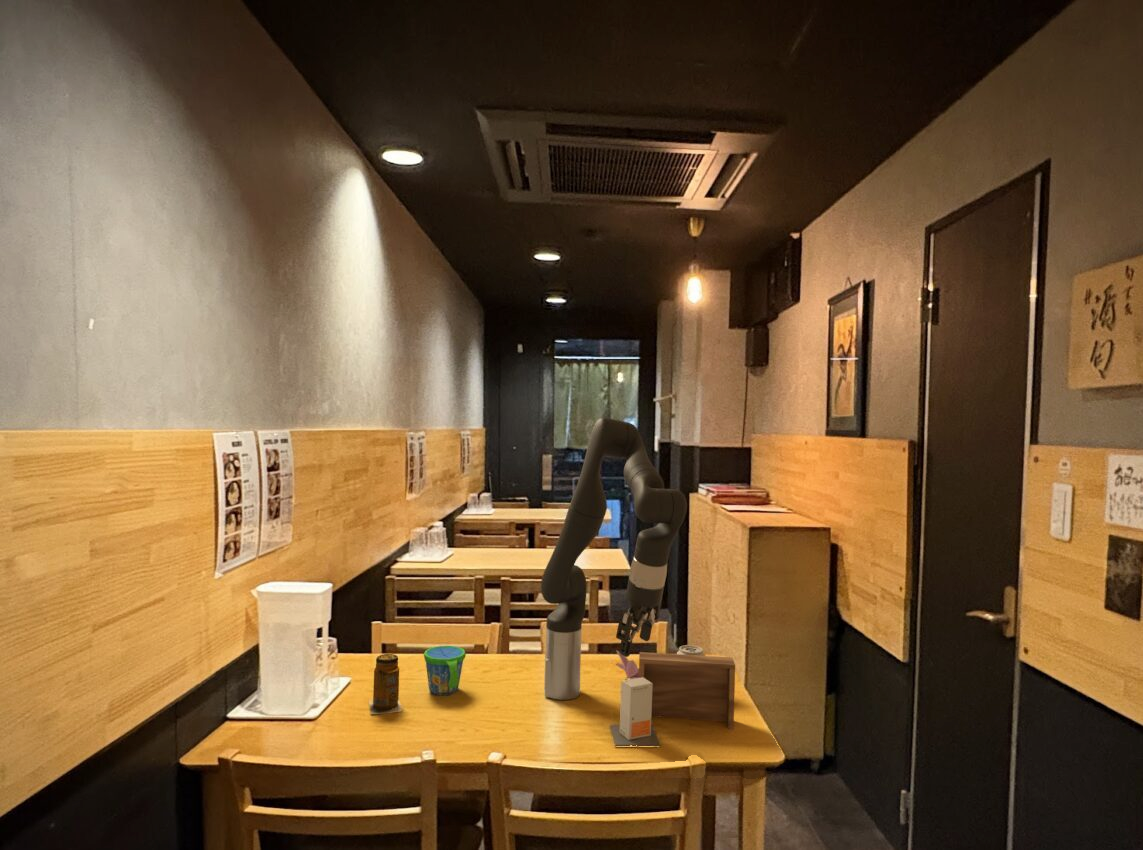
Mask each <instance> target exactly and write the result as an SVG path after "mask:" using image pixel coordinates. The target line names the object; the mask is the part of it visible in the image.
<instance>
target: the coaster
mask: <svg viewBox="0 0 1143 850" xmlns="http://www.w3.org/2000/svg"><path fill="white" fill-rule="evenodd" d="M609 730H611V731H610V733H612V734H611V738H612V737H613V738H612V741H613V740H614V741H613V744H615V745H614V747H615V746H630V745H632V746H636V745H637V746H660V747H661V743H660V741H659V738H658V735H657V733H656V731H655V728H654V726H653V724H652V723H651V735H650V736H646V737H641V738H636V739H631V740H628V739H627V738H626V737H624V736H623V735H622V734H621V733H620V724H609Z"/></svg>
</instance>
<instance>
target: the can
mask: <svg viewBox="0 0 1143 850" xmlns="http://www.w3.org/2000/svg"><path fill="white" fill-rule="evenodd" d="M703 651H704V649H703V648H702V647H700V646H697V645H692V644H685V645H681V646H679V650H678V651H677V652H676V654H680V655H697V656H706V654H705V653H704V652H703Z"/></svg>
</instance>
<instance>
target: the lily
mask: <svg viewBox="0 0 1143 850" xmlns="http://www.w3.org/2000/svg"><path fill="white" fill-rule="evenodd" d="M615 651H616V653H617V655H618V657H619V659H620V661H621V662H622V663H620V662H618V663H615V666H616V667H619V668H620V669H621V670H623V671H624V672H625V675H626V677H625V679H624V681H625V680H630V679H634V678H639V667H638V665H637V663H636V662H635V661H634V660H633V659H631V660H629V658H628V657H625V656H623V655H621V654H620V652H619V651H620V650H615Z"/></svg>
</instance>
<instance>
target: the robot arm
mask: <svg viewBox="0 0 1143 850" xmlns="http://www.w3.org/2000/svg"><path fill="white" fill-rule="evenodd" d="M587 444H588V445H587V448H586V452H585V456H584V461H583V464H582V468H581V472H580V475H579V478H578V481H577V484H576V487H575V490H574V493H573V495H572V498H571V501H570V504H569V507H568V509H567V512H566V514H565V519H564V523H563V525H562V528H561V531H560V534H559V537H558V540H557V542H556V545H555V548H554V550H553V552H552V554H551V557H550V559H549V561H548V562H547V565H546V567H545V568H544V572H543V574H542V577H541V581H540V592H541V596H542V597H543V600H544V601H545V602H547V603H549V604H551V605H555V604H556V605H557V606H556V608H555V609H554V610H553V611H552V612H551V613H549V614H548V615H547V618H546V631H545V655H544V657H545V658H544V688H543V689H544V697H545V698H550V699H553V700H561V701H563V700H564V701H566V700H572V699H575V698H578V697H580V693H581V665H582V664H581V660H582V658H581V657H582V656H581V655H582V624H583V621H584V618H585V614H586V603H587V602H586V601H587V590H588V589H587V585H588V584H587V579H586V575H585V573H584V571H583V569H582V567H580V566H578V565H577V564H576V561H577V560H578V558H579V557H580V556H581V555H582V553H584V551H585V550H586V549H587V548H588V546H589V545H590V544H591V543H592V542H593V541H594V539H595V538H596V536H597V535H598V533H599V531H600V530H601V528H602V524H603V521H604V519H605V516H606V513H607V509H608V502H607V497H606V493H605V490H604V487H603V483H602V480H601V465H602V461H603V458H604V457H608V458H609V457H610V458H612V459H613V458H614V459H618V460H620V459H621V460H622V459H623V460H625V461H626V463H625V465H624V467H623V478H624V481H625V482H626V483H625V484H626V485H627V486H628V489H630V491H631V493H632V496H633V503H634V513H635V516H636V517H637V518H638V519H639V520H640V521H641V522H644V523H647V524H656V525H655V526H654V527H651V528H645V529H643V530H641V531H640V532H638V534H637V538H636V541H635V542H636V543H635V548H634V549H635V550H634V553H633V554H634V555H633V559H632V562H631V564H630V569H629V576H628V582H627V587H626V591H625V595H626V599H628V601H629V603H630V606H629V608H628V610H627V612H624V611H621V612H620V614H619V615H620V616H619V621H618V625H617V630H616V635H615V638H616V639H617V640H620V641H621V642H620V646H619V650H618V651H619V652H620V654H621V655H623V656H625V657H626V658H628V657H629V656H630V655H631V650H632V647H633V646H632V645H633V639H634V637H635V636H636V634H637V633H639V638H640V639H641V640H643V641H645V642H648V641H650V640H651V635H652V630H653V629H652V628H653V626H654V625H655V622H656V621H658V620H659V618H660V614H661V608H662V601H663V594H664V589H665V583H666V578H667V572H668V560H669V556H670V551H671V546H672V544H673V543H674V539H675V538H676V537H677V533H678V531H679V529H680V528H681V526H682V524H683V522H684V520H685V517H686V514H687V511H688V510H687V509H688V503H687V502H688V501H687V498H686V497H685V494H684V493H683V492H682V491H680V490H679V489H674V488H665V483H664V480H663V478H662V476H661V474H659V472H658V471H657V469H656V468H655V466H654V465H653V463H652V462H651V461H650V459H649V456H648V452H647V450H646V447H645V444H644V440H643V439H642V435H641V434H640V431H639V429H638V428H637V427H636V425H634V424H632V423H630V422H628V421H623V420H620V419H614V418H610V417H604V416H603V417H600V418H598V419H597V420H596V422H595V424H594V425H593V428H592V430H591V434H590V437H589V441H588V443H587ZM633 625H635V626H633Z"/></svg>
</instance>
